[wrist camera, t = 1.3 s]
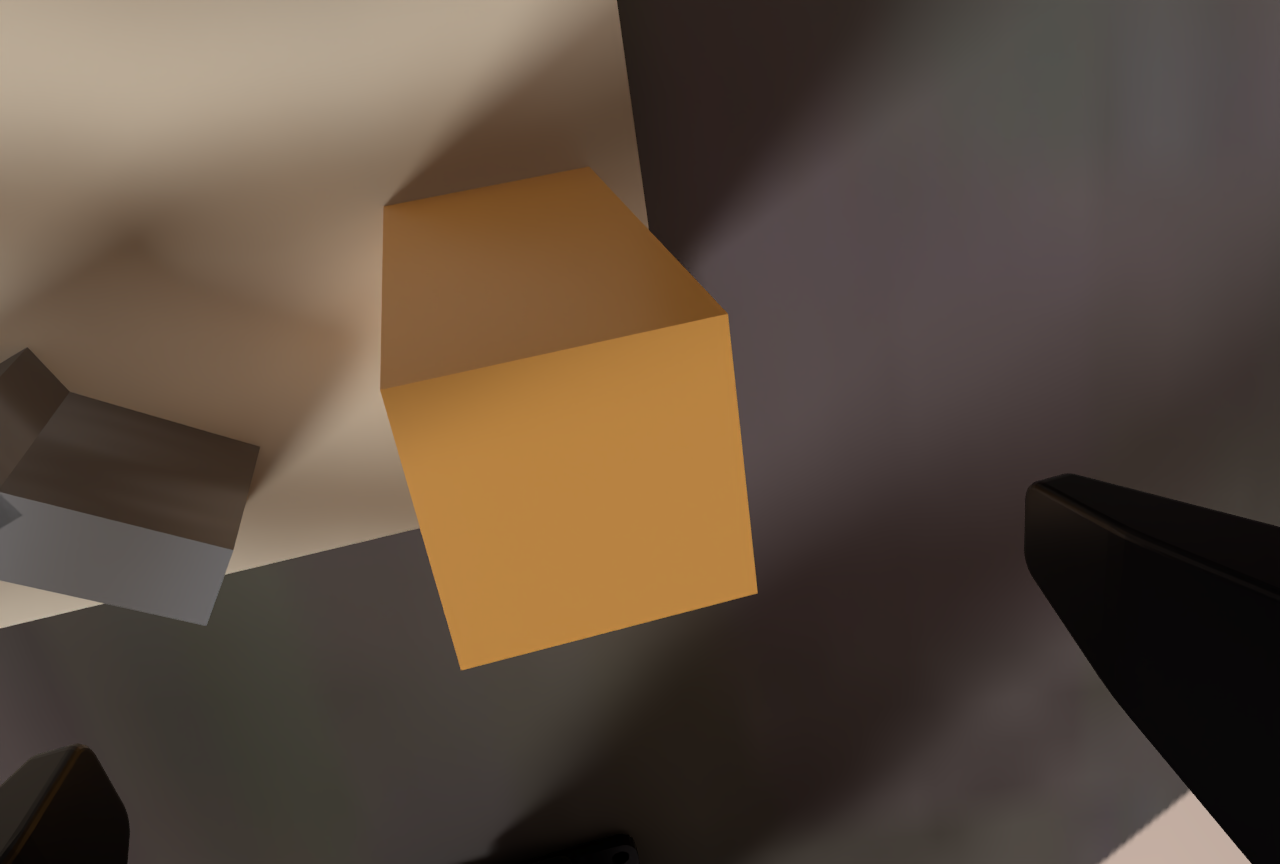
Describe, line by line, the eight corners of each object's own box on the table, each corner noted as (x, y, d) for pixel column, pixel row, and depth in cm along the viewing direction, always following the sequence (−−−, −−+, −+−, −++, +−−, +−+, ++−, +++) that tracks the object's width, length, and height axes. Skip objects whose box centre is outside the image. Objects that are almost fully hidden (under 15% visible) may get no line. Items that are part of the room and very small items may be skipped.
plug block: (619, 354, 21) (757, 593, 13) (433, 395, 21) (461, 670, 13) (589, 166, 19) (727, 313, 11) (383, 206, 19) (380, 390, 11)
